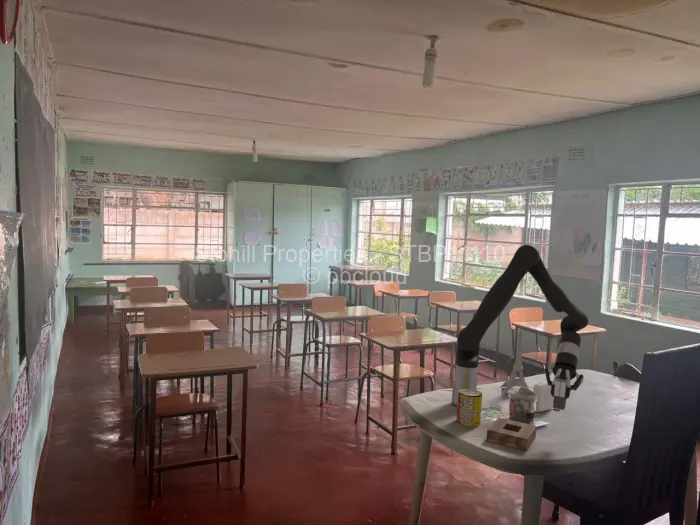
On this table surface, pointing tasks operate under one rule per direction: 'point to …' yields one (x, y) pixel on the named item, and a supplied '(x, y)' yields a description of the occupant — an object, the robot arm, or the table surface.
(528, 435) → the stand
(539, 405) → the white rounded slab
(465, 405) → the yellow tin can
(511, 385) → the eiffel tower
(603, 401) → the table surface
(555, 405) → the white grey tall block
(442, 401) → the table surface
